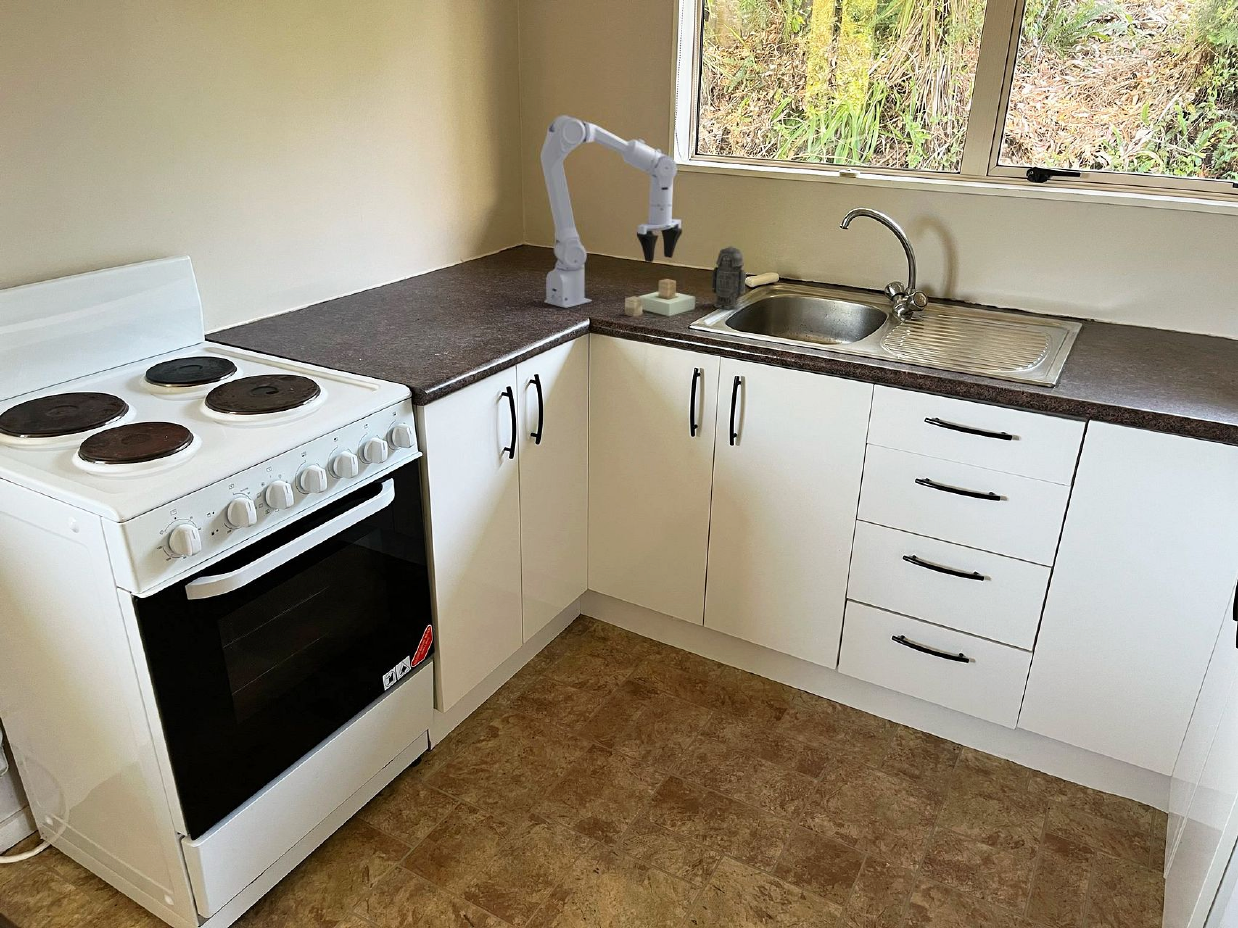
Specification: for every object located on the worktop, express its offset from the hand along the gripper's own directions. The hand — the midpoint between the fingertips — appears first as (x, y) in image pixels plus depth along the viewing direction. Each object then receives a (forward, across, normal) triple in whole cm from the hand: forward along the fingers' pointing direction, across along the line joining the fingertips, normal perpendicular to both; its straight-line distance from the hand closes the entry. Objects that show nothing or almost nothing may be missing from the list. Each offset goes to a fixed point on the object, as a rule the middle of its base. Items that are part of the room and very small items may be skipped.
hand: (658, 259), depth 236 cm
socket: (+10, -7, -9) cm, 15 cm away
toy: (+10, +6, -18) cm, 21 cm away
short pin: (+10, -17, -7) cm, 21 cm away
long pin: (+10, -7, -9) cm, 15 cm away
